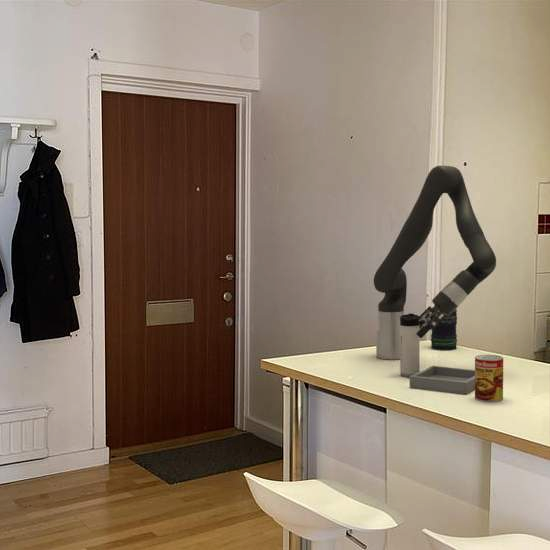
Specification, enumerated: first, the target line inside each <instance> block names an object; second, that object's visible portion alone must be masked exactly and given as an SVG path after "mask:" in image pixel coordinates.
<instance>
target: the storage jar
mask: <svg viewBox="0 0 550 550" xmlns="http://www.w3.org/2000/svg"><path fill="white" fill-rule="evenodd" d="M457 312H458V310H457V308H456V309H455V310H454V311H453V312H452V314H451V315H450V316H447V315H445V314H444V316H445V318H444V319H443V320H442V321H441V322H440V323H439V325H438V326H437V327H436V328H435V329H434V330H431V335H430V337H431V338H430V342H431V343H430V344H431V346H430V347H431V350H435V351H440V352H441V351H444V352H445V351H448V352H449V351H455V350H457V345H458V344H457V343H458V339H457V338H458V335H457V323H458V322H457V320H458V313H457Z"/></svg>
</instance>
